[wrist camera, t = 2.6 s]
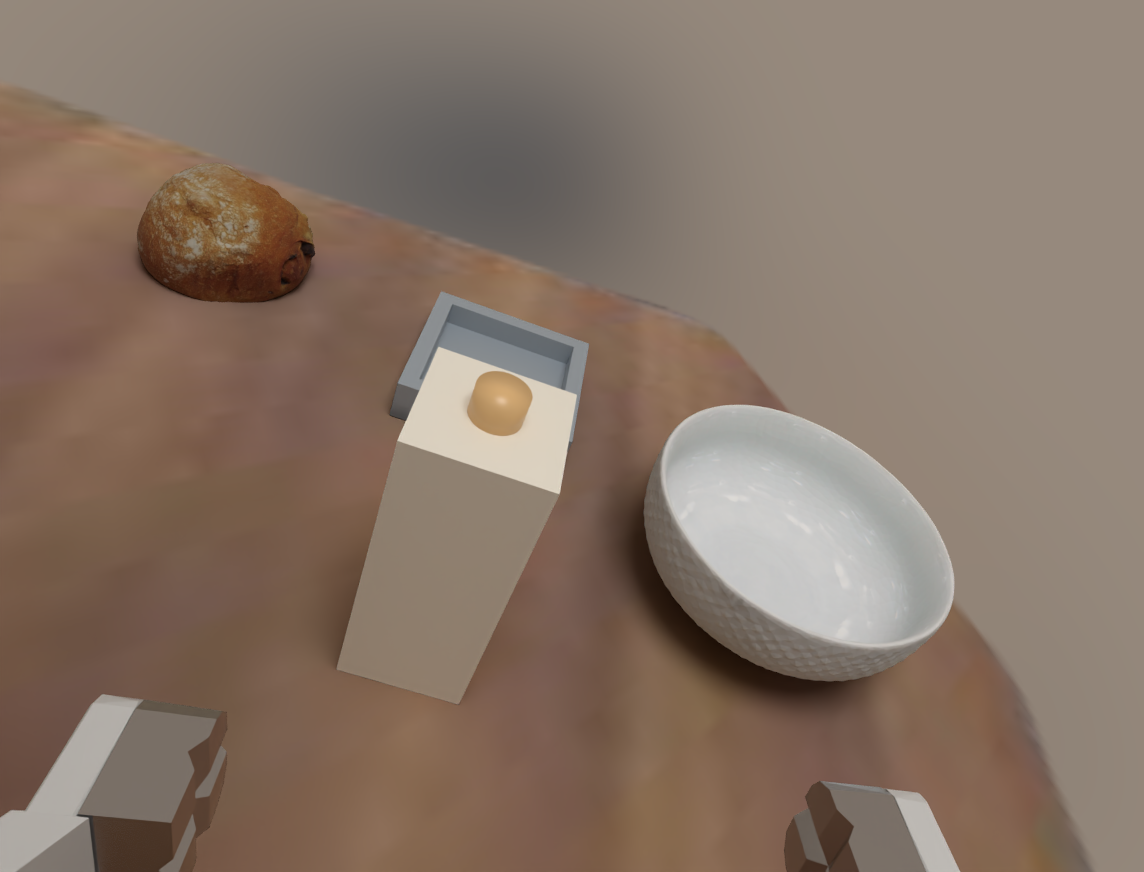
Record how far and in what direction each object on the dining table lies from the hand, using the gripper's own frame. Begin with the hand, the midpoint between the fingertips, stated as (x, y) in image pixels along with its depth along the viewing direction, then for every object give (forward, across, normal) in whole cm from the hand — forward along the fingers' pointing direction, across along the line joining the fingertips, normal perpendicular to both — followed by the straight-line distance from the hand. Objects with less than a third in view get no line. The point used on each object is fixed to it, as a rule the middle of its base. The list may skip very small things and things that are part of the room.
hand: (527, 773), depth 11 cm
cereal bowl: (+28, -16, +18) cm, 37 cm away
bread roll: (+44, +18, +11) cm, 49 cm away
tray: (+39, 0, +14) cm, 41 cm away
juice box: (+20, +2, +18) cm, 27 cm away
